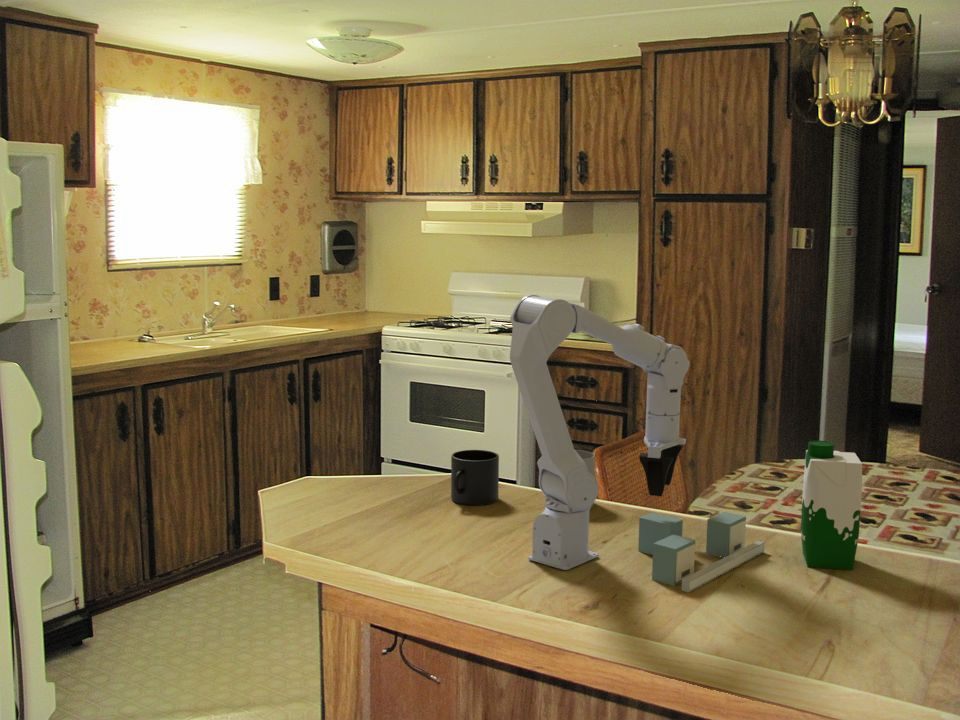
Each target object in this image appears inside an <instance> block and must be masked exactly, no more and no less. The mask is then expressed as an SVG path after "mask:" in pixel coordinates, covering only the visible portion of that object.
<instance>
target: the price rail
mask: <svg viewBox="0 0 960 720" xmlns="http://www.w3.org/2000/svg"><path fill="white" fill-rule="evenodd" d="M765 545H766V544H765V541H762V540H761V541H760V540H756V541H754V542H753V543H750V544H749V545H747V546H745V548H743V549H741V550H739V551H737V552H735V553H733V554H731V555H729V556H727V557H725V558H723V557H722V558H721V559H719V560H717V561H715V562H713V563H711V564H709V565H708V566H705V567H703V568H702V569H699V570H698V571H697V570H696V572H695V571H694V573H693V574H692V575H690V576H688V577H686V578H684V579H682V582H681V591H682V592H685V593H690V592H693V591H695V590H696V589H698V588H700V587H702V586H704V585H705V584H707V583H710V582H711V581H713V580H715V579H717V578H718V576H719V577H720V575H721V576H722V575H724V574H727V573H728V572H730V571H731V569H732V570H734V569H735V567H736V568H738V567H739V566H741V565H743V564H745V563H747V562H749V561H750V559H751V560H752V558H753V559H754V558H756V557H758V556H760V555H762V554H764V553H765ZM763 552H764V553H763ZM761 553H762V554H761ZM757 555H758V556H757ZM755 556H756V557H755ZM748 560H749V561H748ZM746 561H747V562H746ZM744 562H745V563H744ZM742 563H743V564H742ZM740 564H741V565H740ZM738 565H739V566H738ZM733 568H734V569H733ZM729 570H730V571H729ZM716 577H717V578H716ZM714 578H715V579H714ZM703 584H704V585H703Z"/></svg>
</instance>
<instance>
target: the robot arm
mask: <svg viewBox="0 0 960 720" xmlns="http://www.w3.org/2000/svg"><path fill="white" fill-rule="evenodd" d="M509 319H510V323H511V326H512V332H511V333H512V334H511V340H510V342H511V343H510V350H509V361H510V365H511V368H512V371H513V374H514V377H515V379H516V382H517V385H518V388H519V392H520V394H521V398H522V400H523V403H524V407H525V409H526V412H527V414H528V415H527V416H528V419H529V421H530V423H531V424H530V425H531V427H532V431H533V433H534V436H535V439H536V441H537V445H538V448H539V452H540V454H541V457H540V458H539V459H538V460H537V462H536V465H537V467H538V473H539V474H538V487H539V490H540V491H541V492H542V494H544V498H545V499H544V502H545V507H544V509H543V511H542V512H541V513H540V514H539V515H537V517H536V518H535V519H534V521H533V523H532V524H533V525H532V555H531V554H530V555H529V556H528V557H527V558H528V560H529V561H532V562H537V563H539V564H542V565H546V566H549V567H552V568H556V569H559V570H562V571H568V570H571V569H573V568H575V567H577V566H580V565H582V564H585V563H587V562H589V561H592V560H594V559H596V558H598V557H599V556H600V554H599V552H595V551H591V550H589V542H590V541H589V539H590V538H589V537H590V510H591V508H592V507H591V505H592V504H593V503H594V504H595V501H596V499H597V498H598V494H599V484H598V480H597V478H595V477H594V476H593V475H592V474H590V472H589V471H588V469H587V466H586V463H585V462H584V461H583V459H582V458H581V457H580V456H579V454H578V453H577V452H576V451H575V450H576V449H575V447H574V444H573V441H572V438H571V435H570V432H569V430H568V425H567V423H566V420H565V417H564V413H563V410H562V407H561V405H560V401H559V398H558V395H557V391H556V389H555V386H554V383H553V379H552V376H551V374H550V371H549V366H548V363H547V362H548V360H549V358H550V356H551V355H552V354H553V353H554V352H555V350H556V349H557V348H558V347H559V346H560V345H561V344H562V343H563V342H564V341H565V340H566V339H567V338H568V337H569V336H570V335H571V334H578V333H580V332H581V333H583V334H586V335H588V336H590V337H593V338H595V339H597V340H600V341H602V342H605V343H606V344H608V345H611V348H612V351H613V353H614V355H615V356H617V357H618V358H621V359H622V360H625V361H627V362H629V363H630V364H633V365H635V366H638V367H640V368H642V371H644V372H645V373H646V374H647V386H646V411H645V435H644V437H643V442H644V443H645V445H646V446H647V453H646V452H640V454H639V455H638V458H639V461H640V463H641V466H642V468H643V470H644V473H645V478H646V484H647V489H648V495H649V496H654V497H662V496H663V494H664V491H665V487H666V486H670V485H671V482H672V481H673V480H672V479H673V475H674V472H675V466H676V463H677V459H678V457H679V455H680V454H681V453H680V452H681V451H682V449H683V447H684V445H686V443H687V442H686V441H687V439H686V438H682V437H680V419H681V399H682V398H681V397H682V396H681V394H682V386H683V385H684V378H685V376H686V374H687V372H688V371H689V368H690V365H691V361H690V360H689V359H688V355H687V353H686V352H685V350H684V348H683V347H681V346H679V345H677V344H676V345H675V344H671V343H667V342H666V341H665V337H663V336H661V335H656V336H655V335H654V334H651V333H649V332H647V331H645V326H643V325H641V324H638V323H634V324H626V325H623V326H621V327H620V326H618V325H617V324H615V323H613V322H611V321H610V320H607V319H606V318H604V317H603V316H600V315H598V314H597V313H595V312H593V311H591V310H590V309H588V308H585V307H584V306H582V305H579V304H576V303H572V302H569V301H567V300H566V299H562V298H560V299H559V298H558V299H557V298H556V299H554V298H548V297H543V296H539V295H537V294H529V295H525V296H524V297H523V298H521V299H520V300H519V301H518V303H517V304H516V306H515V308H514V310H513V312H512V313H511V315H510V317H509Z"/></svg>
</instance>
